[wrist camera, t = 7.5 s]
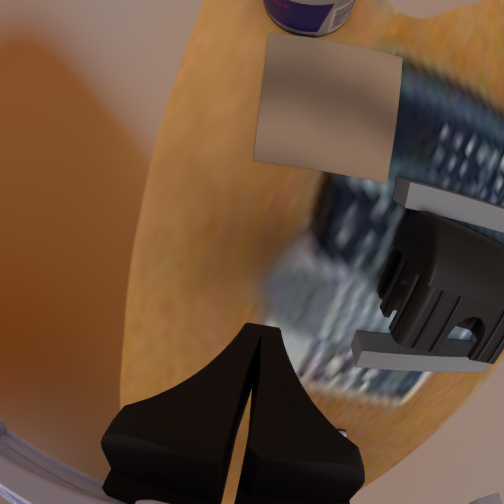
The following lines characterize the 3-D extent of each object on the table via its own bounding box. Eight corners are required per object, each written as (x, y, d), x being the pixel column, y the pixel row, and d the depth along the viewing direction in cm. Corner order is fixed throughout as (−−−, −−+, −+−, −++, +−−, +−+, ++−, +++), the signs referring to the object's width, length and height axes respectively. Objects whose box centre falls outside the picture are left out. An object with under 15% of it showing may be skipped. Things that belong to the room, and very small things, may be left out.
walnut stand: (381, 180, 18) (386, 183, 17) (255, 159, 19) (253, 160, 18) (396, 61, 15) (402, 57, 14) (270, 38, 16) (269, 32, 15)
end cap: (505, 242, 18) (557, 278, 12) (468, 320, 21) (504, 370, 15) (405, 197, 19) (450, 226, 12) (368, 292, 21) (390, 350, 15)
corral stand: (474, 354, 22) (485, 371, 19) (351, 346, 23) (355, 366, 20) (527, 215, 17) (546, 224, 15) (397, 176, 18) (410, 182, 16)
